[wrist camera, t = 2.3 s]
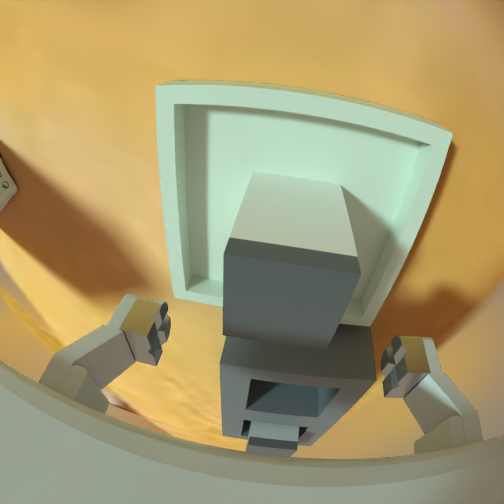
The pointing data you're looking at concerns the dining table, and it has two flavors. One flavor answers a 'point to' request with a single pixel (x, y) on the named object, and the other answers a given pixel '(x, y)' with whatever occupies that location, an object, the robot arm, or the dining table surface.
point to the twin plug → (272, 439)
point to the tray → (290, 174)
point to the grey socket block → (294, 382)
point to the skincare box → (5, 186)
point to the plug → (289, 262)
